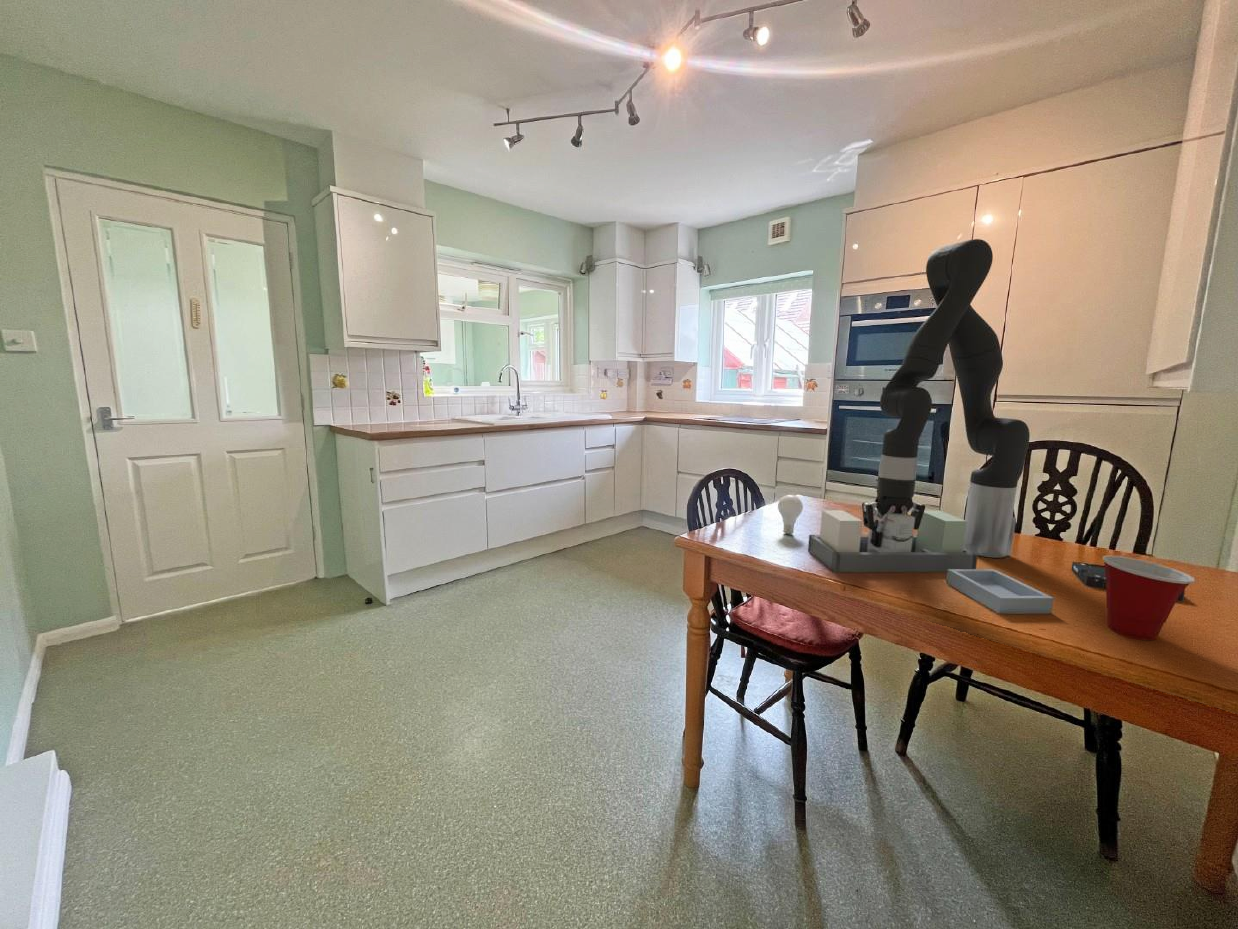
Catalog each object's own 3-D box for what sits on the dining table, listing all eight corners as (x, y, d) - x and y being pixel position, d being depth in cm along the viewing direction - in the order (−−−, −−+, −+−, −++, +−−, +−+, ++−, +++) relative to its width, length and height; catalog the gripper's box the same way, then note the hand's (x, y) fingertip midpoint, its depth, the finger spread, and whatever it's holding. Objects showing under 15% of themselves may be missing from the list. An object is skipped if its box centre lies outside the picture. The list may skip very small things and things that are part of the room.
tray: (992, 582, 106) (994, 569, 105) (1051, 613, 92) (1054, 598, 91) (945, 582, 105) (947, 569, 105) (998, 613, 91) (1001, 598, 91)
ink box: (910, 566, 114) (916, 516, 112) (892, 568, 113) (897, 517, 111) (883, 553, 122) (888, 507, 120) (865, 555, 121) (870, 507, 119)
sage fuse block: (934, 554, 123) (940, 510, 121) (960, 568, 114) (967, 521, 112) (914, 554, 123) (919, 510, 121) (939, 568, 114) (945, 521, 112)
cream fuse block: (838, 554, 122) (842, 510, 120) (857, 568, 113) (862, 520, 111) (818, 554, 122) (822, 510, 120) (835, 568, 113) (840, 520, 111)
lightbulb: (803, 538, 134) (807, 498, 132) (779, 537, 134) (782, 497, 132) (796, 531, 140) (799, 492, 138) (773, 530, 140) (775, 492, 138)
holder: (933, 550, 125) (935, 535, 125) (975, 571, 112) (977, 554, 111) (807, 550, 124) (809, 534, 123) (834, 572, 110) (836, 554, 109)
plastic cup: (1199, 654, 79) (1216, 581, 77) (1115, 643, 82) (1129, 573, 80) (1149, 622, 89) (1163, 557, 87) (1075, 613, 92) (1087, 551, 90)
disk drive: (1084, 588, 105) (1184, 603, 98) (1086, 576, 105) (1187, 590, 98) (1069, 572, 114) (1159, 585, 107) (1071, 560, 114) (1162, 572, 107)
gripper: (917, 472, 118) (908, 541, 121) (857, 472, 118) (850, 541, 120) (938, 478, 111) (929, 552, 114) (875, 478, 110) (867, 552, 113)
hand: (888, 546), depth 117 cm, fingers closed on ink box, 5 cm apart
